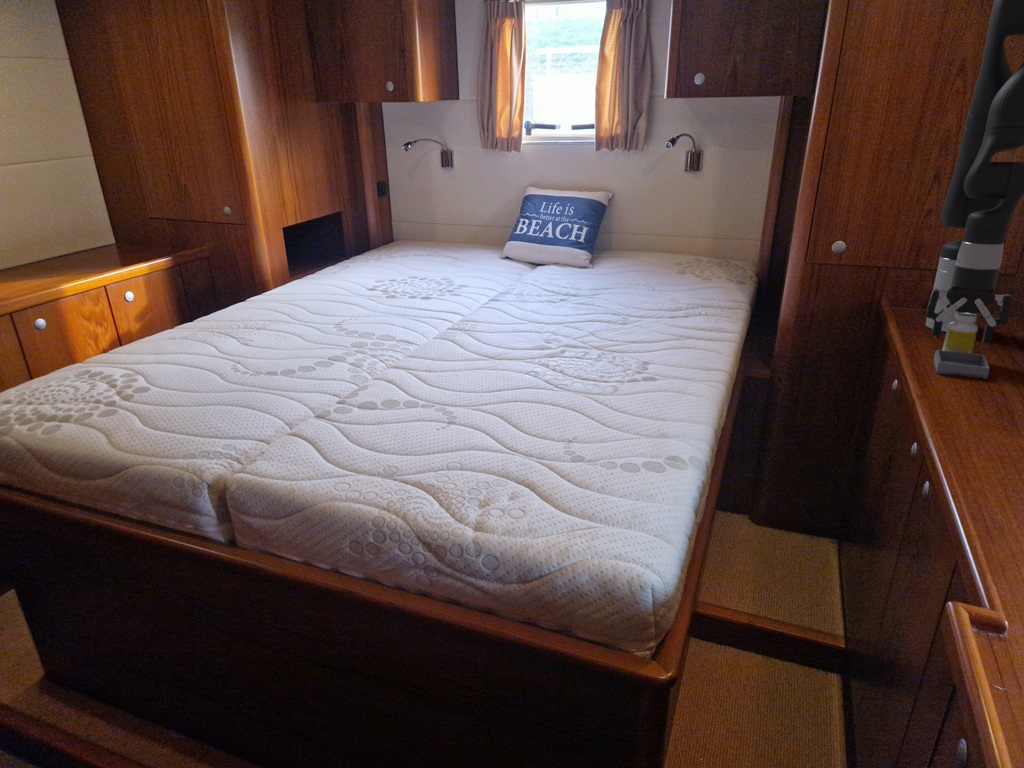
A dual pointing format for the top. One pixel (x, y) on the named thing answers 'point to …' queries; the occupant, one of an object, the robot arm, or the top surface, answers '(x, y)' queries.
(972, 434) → the top surface
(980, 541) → the top surface
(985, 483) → the top surface
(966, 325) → the supplement bottle
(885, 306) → the top surface
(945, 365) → the tray
